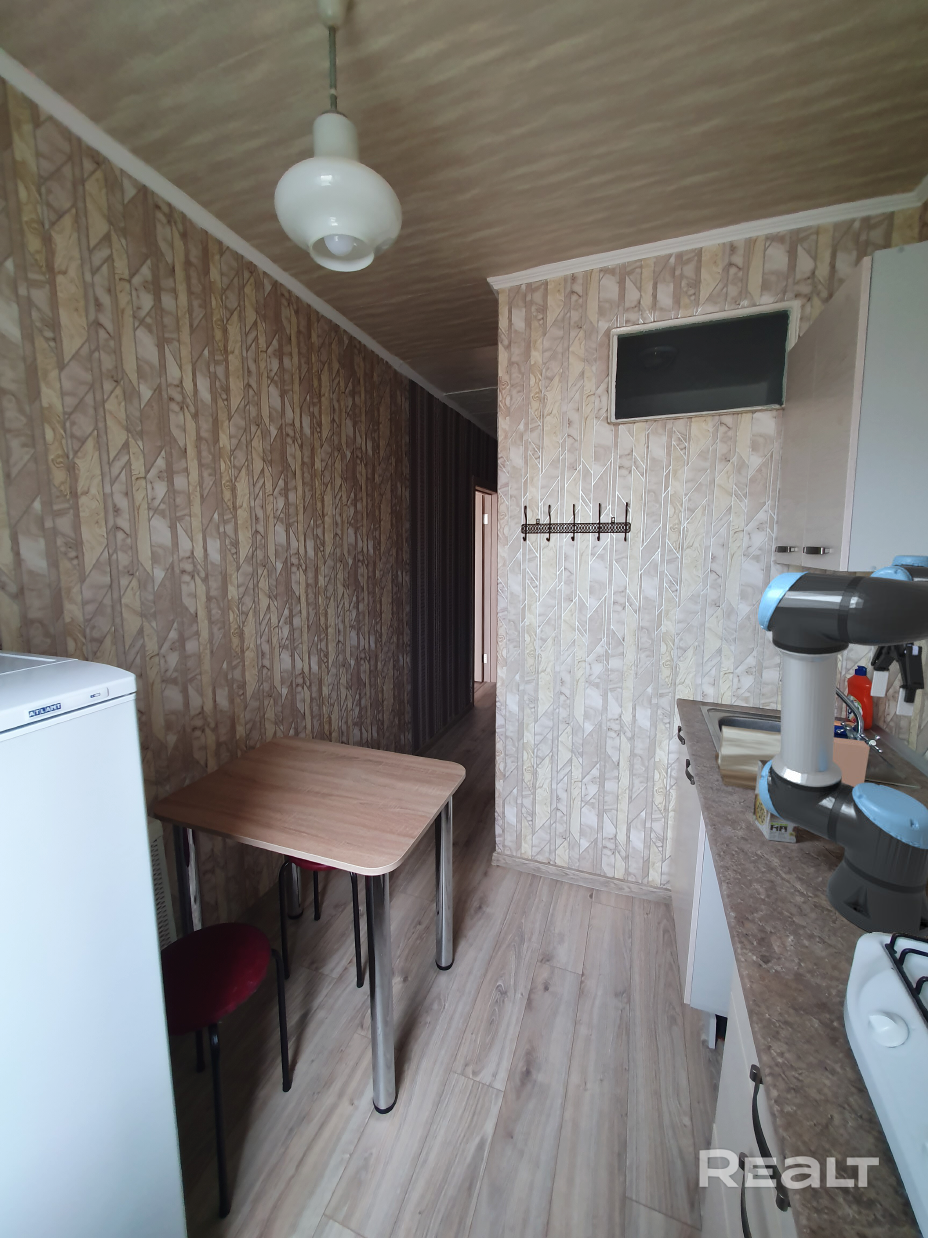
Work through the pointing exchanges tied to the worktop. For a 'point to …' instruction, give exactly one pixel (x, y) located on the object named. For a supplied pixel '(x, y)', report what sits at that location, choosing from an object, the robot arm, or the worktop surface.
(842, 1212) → the worktop surface
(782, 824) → the coffee box
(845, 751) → the pink beveled block
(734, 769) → the beige and brown block
